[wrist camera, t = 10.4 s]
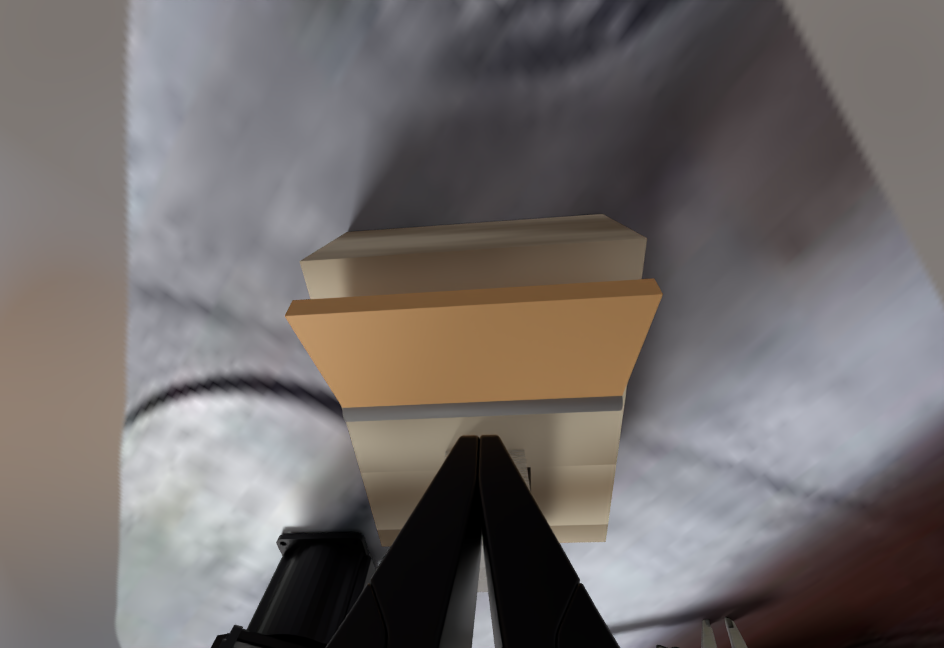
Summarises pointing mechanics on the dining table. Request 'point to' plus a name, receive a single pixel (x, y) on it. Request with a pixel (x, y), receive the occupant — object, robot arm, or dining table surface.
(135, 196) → the dining table surface
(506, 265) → the hitch block
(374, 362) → the tan wooden plank
